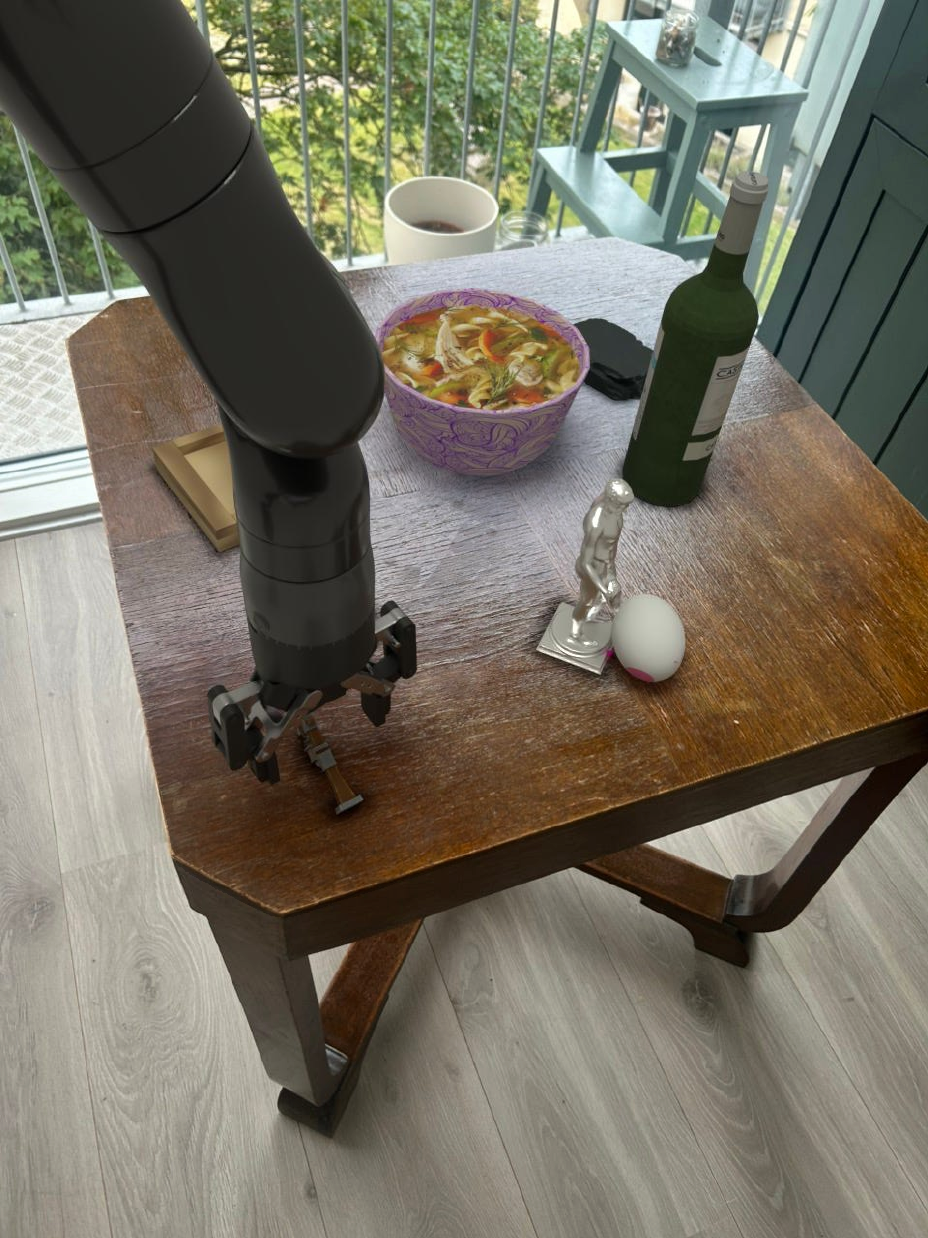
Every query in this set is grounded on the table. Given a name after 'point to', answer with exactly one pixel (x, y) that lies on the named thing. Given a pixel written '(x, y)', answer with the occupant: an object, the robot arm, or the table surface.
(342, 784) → the wooden post with brackets
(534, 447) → the bowl of food
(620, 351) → the stone
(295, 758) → the table surface
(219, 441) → the holder
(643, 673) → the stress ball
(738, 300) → the wine bottle
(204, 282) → the robot arm
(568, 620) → the figurine
